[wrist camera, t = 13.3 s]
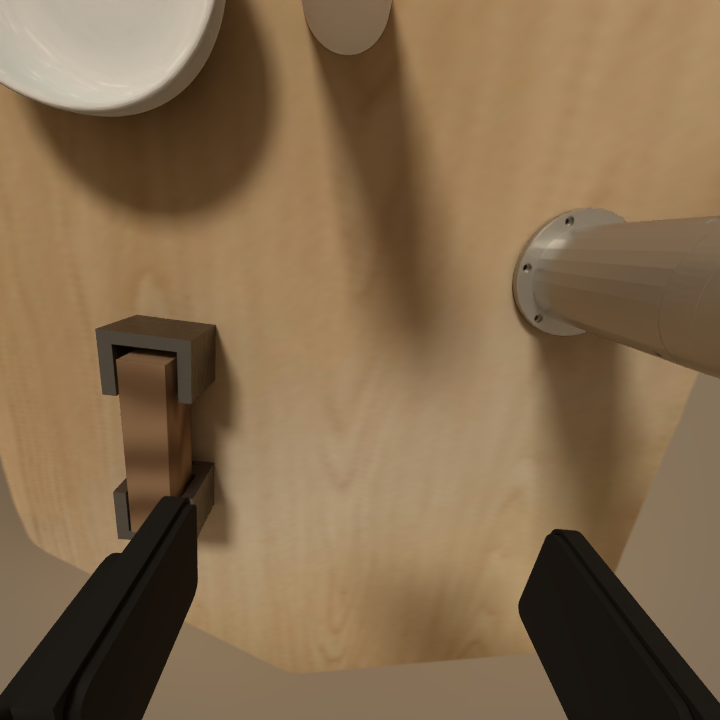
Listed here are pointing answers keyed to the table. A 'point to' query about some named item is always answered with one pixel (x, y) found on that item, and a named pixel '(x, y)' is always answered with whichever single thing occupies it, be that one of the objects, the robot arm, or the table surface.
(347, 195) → the table surface
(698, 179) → the table surface
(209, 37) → the serving bowl
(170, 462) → the walnut rail
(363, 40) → the cylindrical container
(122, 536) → the bracket
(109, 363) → the bracket
